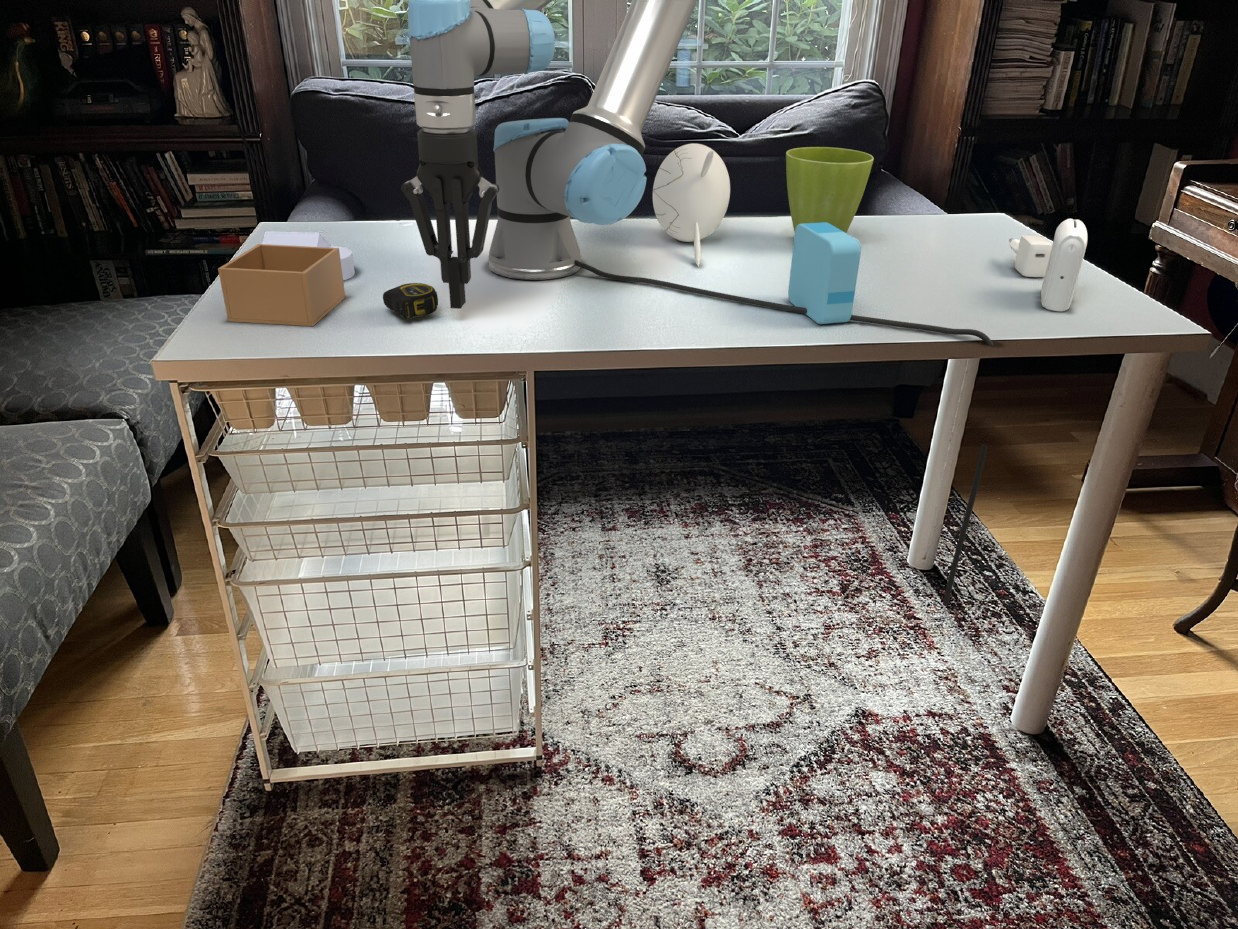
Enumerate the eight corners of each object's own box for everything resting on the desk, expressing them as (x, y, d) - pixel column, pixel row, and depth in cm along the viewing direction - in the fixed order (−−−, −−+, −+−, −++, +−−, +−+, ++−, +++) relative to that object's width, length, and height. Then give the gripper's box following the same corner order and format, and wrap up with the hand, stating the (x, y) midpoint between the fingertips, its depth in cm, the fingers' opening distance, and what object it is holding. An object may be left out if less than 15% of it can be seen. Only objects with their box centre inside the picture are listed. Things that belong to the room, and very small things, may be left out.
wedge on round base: (262, 282, 142) (345, 284, 142) (254, 239, 139) (340, 241, 139) (281, 264, 150) (361, 266, 150) (275, 223, 147) (356, 225, 147)
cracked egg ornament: (654, 137, 169) (665, 143, 146) (728, 145, 170) (750, 151, 147) (643, 242, 176) (652, 263, 152) (714, 248, 177) (734, 270, 153)
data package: (850, 325, 131) (863, 241, 125) (821, 327, 130) (833, 243, 124) (813, 298, 141) (823, 219, 135) (786, 300, 140) (795, 221, 134)
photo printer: (1070, 313, 137) (1093, 230, 131) (1039, 309, 138) (1060, 227, 132) (1068, 293, 145) (1089, 214, 139) (1039, 289, 147) (1058, 211, 140)
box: (345, 297, 137) (339, 247, 133) (313, 326, 126) (305, 273, 123) (266, 293, 138) (258, 243, 134) (228, 321, 127) (217, 268, 124)
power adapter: (999, 258, 161) (1007, 225, 159) (1027, 259, 161) (1035, 226, 158) (1019, 278, 152) (1028, 242, 149) (1049, 279, 151) (1058, 243, 149)
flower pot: (799, 230, 175) (809, 143, 168) (873, 244, 168) (887, 153, 160) (762, 247, 165) (771, 154, 157) (839, 263, 157) (852, 166, 149)
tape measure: (382, 311, 132) (379, 286, 130) (427, 303, 135) (424, 278, 133) (401, 326, 127) (398, 300, 125) (447, 317, 130) (445, 291, 128)
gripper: (387, 130, 115) (404, 311, 126) (490, 135, 114) (498, 316, 125) (405, 121, 121) (420, 294, 133) (502, 125, 120) (509, 298, 132)
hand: (458, 304), depth 129 cm, fingers closed
